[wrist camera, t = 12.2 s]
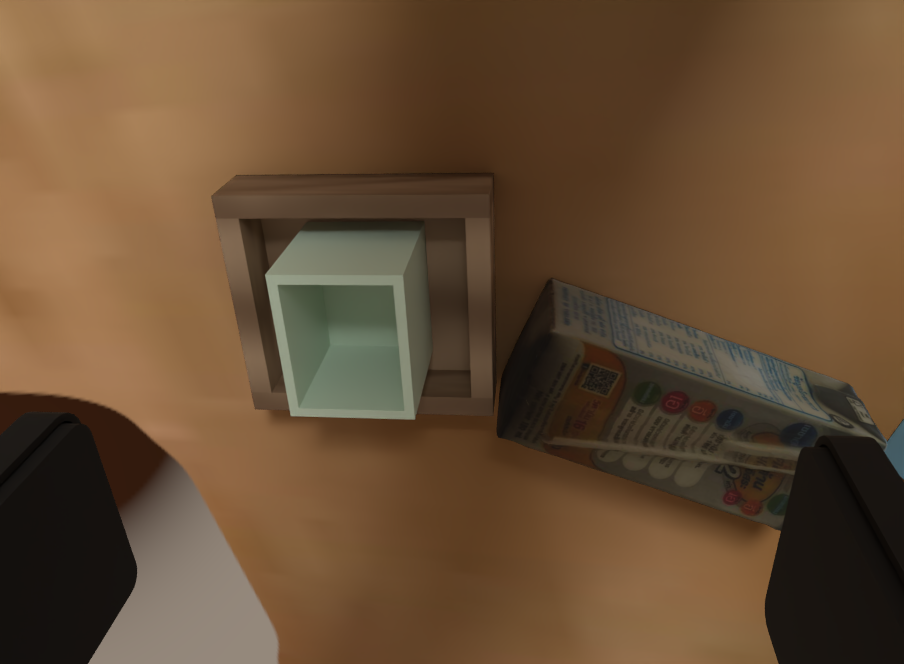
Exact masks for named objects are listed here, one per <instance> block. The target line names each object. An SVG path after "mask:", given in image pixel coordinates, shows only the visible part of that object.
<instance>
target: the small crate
mask: <svg viewBox="0 0 904 664" xmlns="http://www.w3.org/2000/svg"><path fill="white" fill-rule="evenodd" d="M265 277H266V282H267V288H268V293H269V299H270V304H271V310H272V315H273V321H274V326H275V332H276V337H277V343H278V348H279V354H280V359H281V365H282V371H283V376H284V382H285V387H286V393H287V398H288V404H289V409H290V415H291V416H303V417H340V418H376V419H413V420H415V418H416V414H417V410H418V406H419V402H420V398H421V394H422V390H423V386H424V383H425V379H426V375H427V371H428V367H429V363H430V359H431V355H432V351H433V344H432V329H431V314H430V298H429V283H428V268H427V252H426V237H425V221H374V222H306V224H305V225H304V226H303V228H302V229H301V230H300V231H299V233H298V234H297V235H296V236H295V238H294V239H293V240H292V241H291V243H290V244H289V245H288V247H287V248H286V249H285V250H284V252H283V253H282V254H281V255H280V257H279V258H278V259H277V260H276V262H275V263H274V264H273V266H272V267H271V268H270V269H269V271H268V272H267V273H266V274H265Z"/></svg>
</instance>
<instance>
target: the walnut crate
mask: <svg viewBox="0 0 904 664" xmlns="http://www.w3.org/2000/svg"><path fill="white" fill-rule="evenodd" d="M211 198H212V203H213V208H214V212H215V217H216V222H217V227H218V232H219V237H220V242H221V246H222V251H223V256H224V261H225V266H226V271H227V275H228V280H229V285H230V290H231V295H232V300H233V305H234V309H235V314H236V319H237V324H238V329H239V334H240V339H241V343H242V348H243V353H244V358H245V363H246V368H247V373H248V377H249V382H250V387H251V392H252V397H253V402H254V406H255V409H263V410H290V409H289V404H288V398H287V393H286V387H285V382H284V376H283V371H282V365H281V359H280V354H279V348H278V343H277V337H276V332H275V326H274V321H273V315H272V310H271V304H270V299H269V293H268V288H267V282H266V277H265V274H266V273H267V272H268V271H269V269H270V268H271V267H272V266H273V264H274V263H275V262H276V260H277V259H278V258H279V257H280V255H281V254H282V253H283V252H284V250H285V249H286V248H287V247H288V245H289V244H290V243H291V241H292V240H293V239H294V238H295V236H296V235H297V234H298V233H299V231H300V230H301V229H302V228H303V226H304V225H305V224H306V222H374V221H425V237H426V252H427V268H428V283H429V298H430V314H431V329H432V344H433V351H432V355H431V359H430V363H429V367H428V371H427V375H426V379H425V383H424V386H423V390H422V394H421V398H420V402H419V406H418V410H417V414H439V415H474V416H493V413H494V403H495V393H496V383H497V380H496V312H495V243H494V175H493V173H427V174H318V175H236V176H235V177H234V178H232V179H231V180H230V181H229V182H227V183H226V184H225V185H224V186H223V187H221V188H220V189H219V190H218V191H217V192H215V193H214V194H213V195H212V196H211Z"/></svg>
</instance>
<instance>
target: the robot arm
mask: <svg viewBox="0 0 904 664" xmlns="http://www.w3.org/2000/svg"><path fill="white" fill-rule="evenodd" d="M136 578H137V565H136V561H135V558H134V555H133V553H132V550H131V547H130V544H129V541H128V538H127V535H126V532H125V529H124V526H123V523H122V520H121V517H120V514H119V512H118V509H117V506H116V503H115V500H114V497H113V494H112V491H111V488H110V485H109V482H108V479H107V476H106V474H105V471H104V468H103V465H102V462H101V459H100V456H99V453H98V450H97V448H96V444H95V441H94V438H93V436H92V433H91V431H90V429H89V428H88V427H87V426H86V425H84V424H81V423H80V420H79V419H78V418H77V417H76V416H75V415H74V414H70V413H58V412H29V413H25V414H24V415H22V416H21V417H19V418H18V419H17V420H16V421H15V422H14V423H13V424H12V425H11V426H10V427H8V428H7V429H6V431H4V432H3V433H2V434H1V435H0V664H88V663H89V661H90V659H91V658H92V656H93V654H94V653H95V651H96V650H97V648H98V646H99V645H100V643H101V641H102V640H103V638H104V637H105V635H106V633H107V632H108V630H109V628H110V627H111V625H112V624H113V622H114V620H115V619H116V617H117V615H118V614H119V612H120V611H121V609H122V607H123V606H124V604H125V602H126V601H127V599H128V597H129V596H130V594H131V592H132V590H133V588H134V586H135V583H136ZM765 618H766V624H767V628H768V632H769V635H770V638H771V641H772V644H773V647H774V651H775V654H776V657H777V660H778V663H779V664H904V482H903V480H902V479H901V477H900V476H899V474H898V472H897V471H896V469H895V468H894V466H893V465H892V463H891V462H890V460H889V458H888V457H887V455H886V454H885V452H884V451H883V449H882V448H881V446H880V445H879V443H878V442H877V441H876V440H875V439H874V438H871V437H862V436H828V435H823V436H820V437H819V438H818V439H817V441H816V443H815V445H814V447H803V448H802V449H801V451H800V454H799V457H798V461H797V465H796V469H795V474H794V478H793V482H792V487H791V491H790V495H789V499H788V504H787V508H786V512H785V517H784V521H783V525H782V530H781V534H780V538H779V542H778V547H777V551H776V555H775V560H774V564H773V568H772V573H771V577H770V581H769V585H768V590H767V594H766V599H765Z"/></svg>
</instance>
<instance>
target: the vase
mask: <svg viewBox="0 0 904 664" xmlns="http://www.w3.org/2000/svg"><path fill="white" fill-rule="evenodd" d="M887 444H888V445H887V448H886V450H885V451H884V452H885V454H886V455H887V457H888V458H889V460H890V462H891V463H892V465H893V466H894V468H895V469H896V471H897V472H898V474H899V476H900V477H902V478H903V479H904V419H903V421H902V422H901V423H900V425H899V426H898V428H897V429H896V430H895V432H894V433H893V434H892V436H891V437H890V439H889V440H888V441H887Z"/></svg>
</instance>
